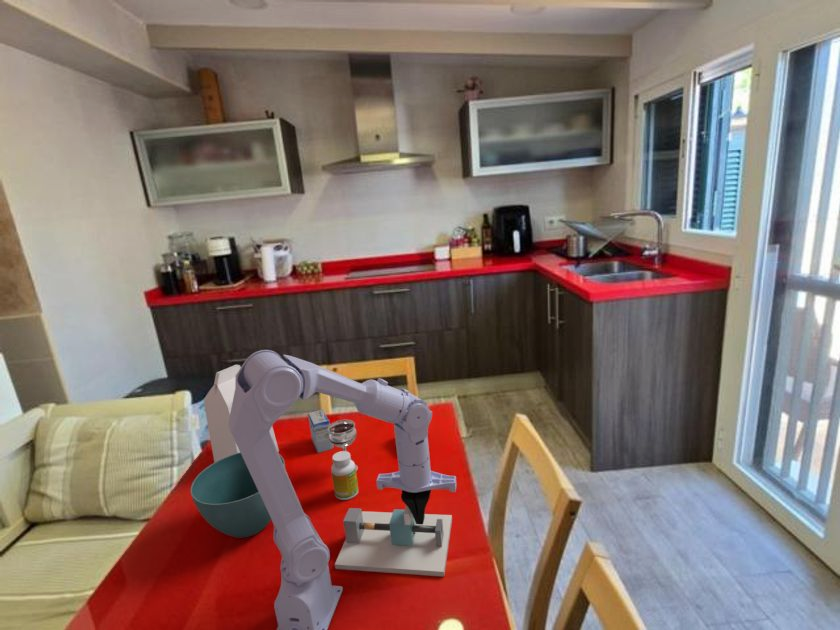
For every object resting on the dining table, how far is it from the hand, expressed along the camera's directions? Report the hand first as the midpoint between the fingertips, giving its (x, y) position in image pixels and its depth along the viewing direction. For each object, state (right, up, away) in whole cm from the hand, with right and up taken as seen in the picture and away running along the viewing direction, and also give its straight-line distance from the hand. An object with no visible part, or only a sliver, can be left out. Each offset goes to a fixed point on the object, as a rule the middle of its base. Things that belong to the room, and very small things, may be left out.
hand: (420, 520), depth 83 cm
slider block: (-3, -4, +2) cm, 5 cm away
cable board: (-5, -5, +2) cm, 7 cm away
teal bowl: (-36, -6, +11) cm, 39 cm away
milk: (-47, 0, +37) cm, 60 cm away
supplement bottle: (-17, -2, +18) cm, 25 cm away
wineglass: (-18, 0, +27) cm, 33 cm away
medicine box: (-27, +2, +40) cm, 49 cm away
